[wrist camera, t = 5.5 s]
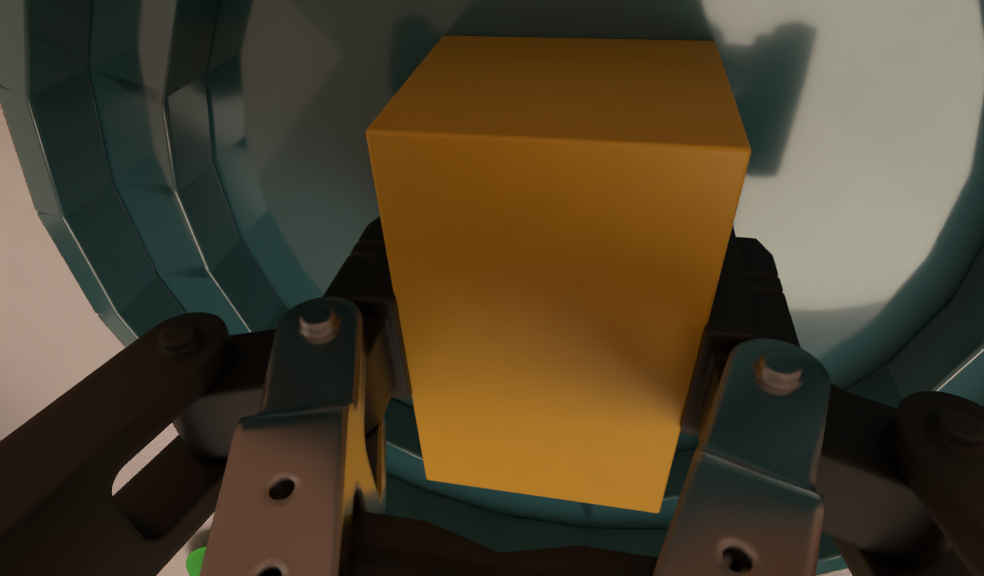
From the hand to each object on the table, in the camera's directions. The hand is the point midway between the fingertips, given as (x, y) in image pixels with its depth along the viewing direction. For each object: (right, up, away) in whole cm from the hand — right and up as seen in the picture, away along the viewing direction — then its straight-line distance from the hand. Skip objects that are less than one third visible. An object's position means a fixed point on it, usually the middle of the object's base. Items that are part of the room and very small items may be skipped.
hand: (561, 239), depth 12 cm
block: (0, 0, 0) cm, 1 cm away
